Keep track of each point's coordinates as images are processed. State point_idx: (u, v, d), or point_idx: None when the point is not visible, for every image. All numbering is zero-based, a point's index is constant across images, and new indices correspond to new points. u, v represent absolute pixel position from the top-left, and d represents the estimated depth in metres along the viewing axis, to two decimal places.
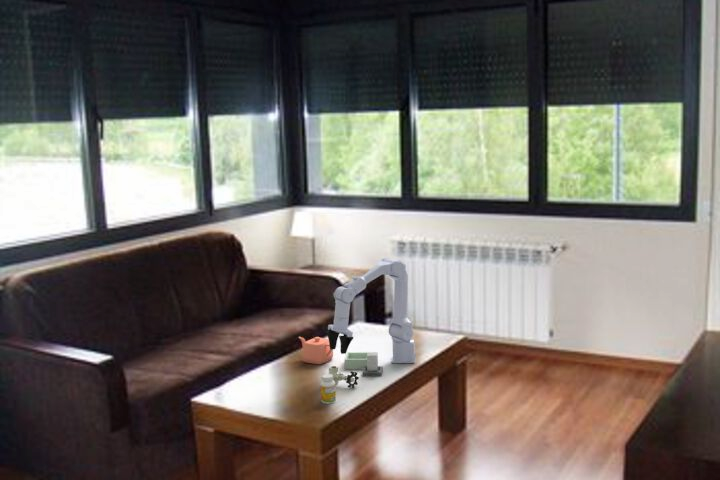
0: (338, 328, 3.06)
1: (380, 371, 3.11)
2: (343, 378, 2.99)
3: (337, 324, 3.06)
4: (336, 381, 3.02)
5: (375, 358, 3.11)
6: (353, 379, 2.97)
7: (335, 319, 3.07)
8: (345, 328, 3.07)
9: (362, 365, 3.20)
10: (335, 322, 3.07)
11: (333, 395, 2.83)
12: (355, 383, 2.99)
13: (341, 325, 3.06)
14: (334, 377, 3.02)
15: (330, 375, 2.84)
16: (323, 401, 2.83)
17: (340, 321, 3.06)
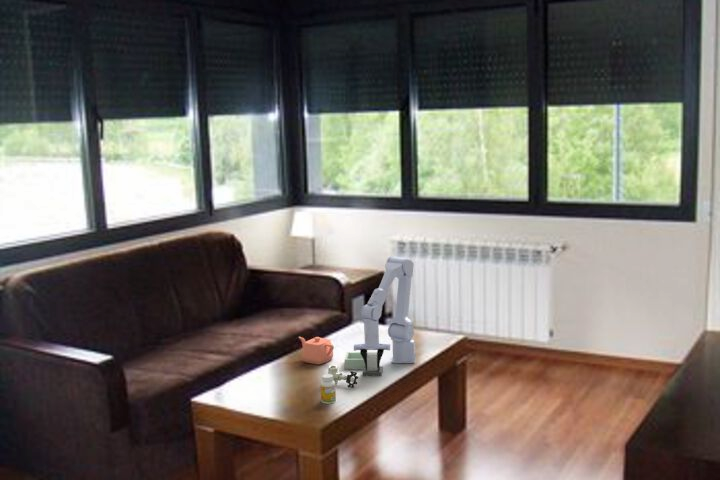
0: (376, 345, 3.10)
1: (380, 371, 3.11)
2: (343, 378, 3.00)
3: (374, 342, 3.10)
4: (335, 381, 3.03)
5: (375, 358, 3.11)
6: (353, 379, 2.98)
7: (371, 338, 3.09)
8: None
9: (362, 365, 3.20)
10: (371, 341, 3.09)
11: (333, 395, 2.83)
12: (355, 383, 2.99)
13: (377, 342, 3.11)
14: (333, 377, 3.02)
15: (330, 375, 2.84)
16: (323, 401, 2.83)
17: (376, 338, 3.10)
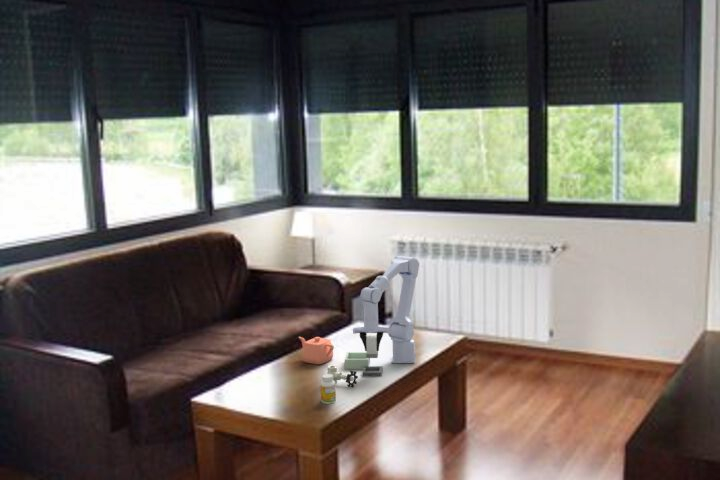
0: (375, 328, 3.09)
1: (380, 371, 3.11)
2: (342, 377, 3.00)
3: (374, 325, 3.09)
4: (335, 380, 3.03)
5: (374, 341, 3.10)
6: (352, 378, 2.98)
7: (370, 321, 3.08)
8: None
9: (362, 365, 3.20)
10: (371, 324, 3.08)
11: (333, 395, 2.83)
12: (354, 382, 3.00)
13: (377, 324, 3.10)
14: (333, 376, 3.02)
15: (330, 375, 2.84)
16: (323, 401, 2.83)
17: (376, 321, 3.09)
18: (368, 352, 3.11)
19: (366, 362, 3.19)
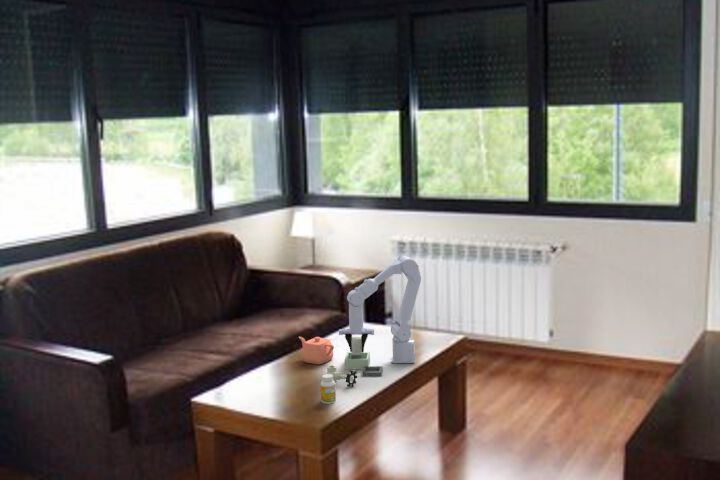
0: (360, 330, 3.20)
1: (380, 371, 3.11)
2: (342, 377, 3.00)
3: (359, 327, 3.19)
4: (334, 380, 3.03)
5: (359, 342, 3.21)
6: (352, 378, 2.99)
7: (355, 323, 3.19)
8: (363, 328, 3.23)
9: (362, 365, 3.20)
10: (356, 326, 3.19)
11: (333, 395, 2.83)
12: (354, 382, 3.00)
13: (362, 326, 3.21)
14: (333, 376, 3.02)
15: (330, 375, 2.84)
16: (323, 401, 2.83)
17: (361, 323, 3.20)
18: (353, 353, 3.22)
19: (366, 362, 3.19)
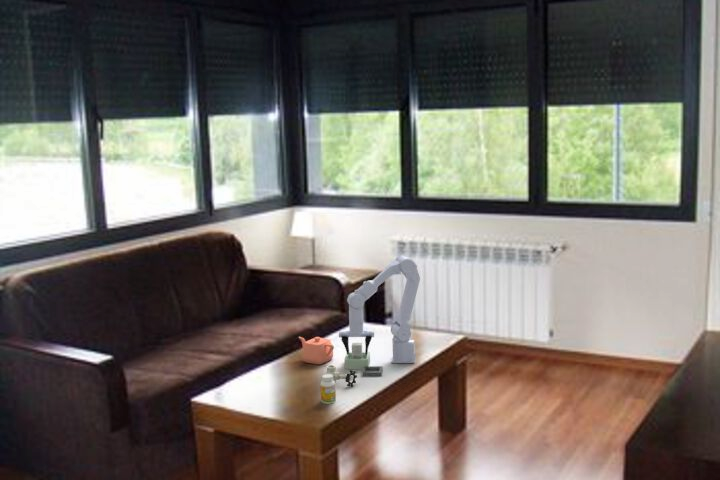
0: (360, 332, 3.20)
1: (380, 371, 3.11)
2: (341, 377, 3.01)
3: (359, 329, 3.20)
4: (334, 380, 3.04)
5: (360, 348, 3.21)
6: (352, 378, 2.99)
7: (355, 325, 3.19)
8: None
9: (362, 365, 3.20)
10: (356, 328, 3.19)
11: (333, 395, 2.83)
12: (354, 382, 3.00)
13: (362, 329, 3.21)
14: None
15: (330, 375, 2.84)
16: (323, 401, 2.83)
17: (361, 325, 3.20)
18: None
19: (366, 362, 3.19)
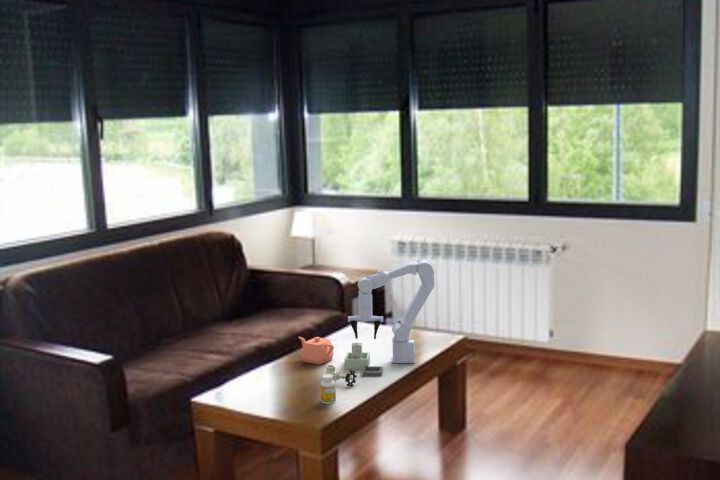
0: (369, 317, 3.23)
1: (380, 371, 3.11)
2: (341, 377, 3.01)
3: (368, 314, 3.22)
4: (334, 380, 3.04)
5: (360, 348, 3.21)
6: (352, 377, 2.99)
7: (365, 310, 3.22)
8: None
9: (362, 365, 3.20)
10: (365, 312, 3.22)
11: (333, 395, 2.83)
12: (353, 381, 3.01)
13: (371, 313, 3.23)
14: None
15: (330, 375, 2.84)
16: (323, 401, 2.83)
17: (370, 310, 3.23)
18: None
19: (366, 362, 3.19)
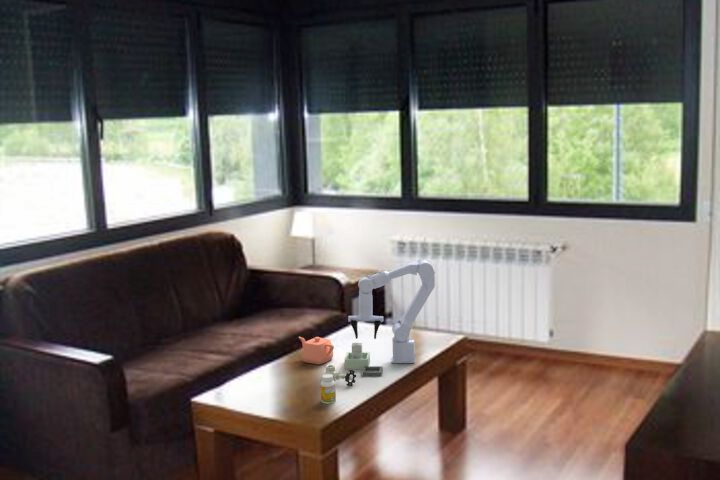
0: (369, 317, 3.23)
1: (380, 371, 3.11)
2: (341, 376, 3.01)
3: (368, 313, 3.22)
4: (333, 380, 3.04)
5: (360, 348, 3.21)
6: (351, 377, 2.99)
7: (365, 310, 3.22)
8: None
9: (362, 365, 3.20)
10: (365, 312, 3.22)
11: (333, 395, 2.83)
12: (353, 381, 3.01)
13: (371, 313, 3.23)
14: None
15: (330, 375, 2.84)
16: (323, 401, 2.83)
17: (370, 310, 3.23)
18: None
19: (366, 362, 3.19)
